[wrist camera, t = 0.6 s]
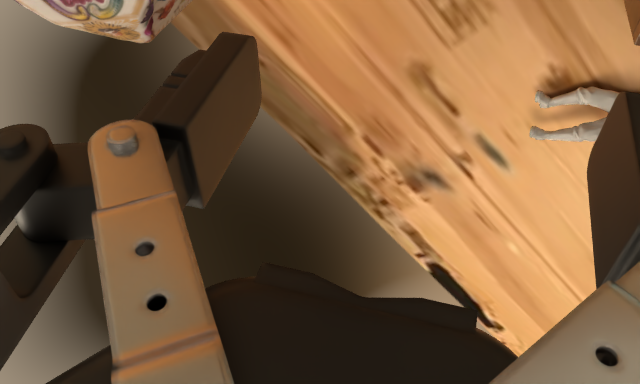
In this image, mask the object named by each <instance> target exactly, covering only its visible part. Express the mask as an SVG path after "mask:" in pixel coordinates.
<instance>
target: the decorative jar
mask: <svg viewBox="0 0 640 384" xmlns="http://www.w3.org/2000/svg"><path fill="white" fill-rule="evenodd" d="M15 1H16V2H17V3H19V4H20V5H22V6H23V7H25V8H27V9H29V10H31V11H32V12H34V13H36V14H38V15H39V16H41V17H43V18H45V19H46V20H48V21H50V22H51V23H54V24H56V25H60V26H62V27H68V28H72V29H76V30H82V31H86V32H90V33H93V34H98V35H103V36H108V37H112V38H115V39H120V40H129V41H134V42H137V43H147V42H150V41H152V40H153V39H154V38H155V37H156V35H157V34H158V33H159V32H160V31H161V30H162V29H164V27H165V26H166V25H167V24H169V23H170V22H171V21H172V20H173V19H174V18H175V17H176V16H177V15H178V14H179V13H180V12H181V11H182V10H183V8H185V7H186V6H187V5H188V4H189V3H190V2H191V1H192V0H15Z"/></svg>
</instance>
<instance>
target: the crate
mask: <svg viewBox="0 0 640 384" xmlns="http://www.w3.org/2000/svg"><path fill="white" fill-rule="evenodd" d="M624 3H625V7H626V11H627V16H628V20H629V24H630V28H631V32H632V36H633V40H634V45H639V46H640V0H624Z"/></svg>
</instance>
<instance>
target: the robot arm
mask: <svg viewBox="0 0 640 384" xmlns="http://www.w3.org/2000/svg"><path fill="white" fill-rule="evenodd" d="M260 104H261V81H260V71H259V60H258V50H257V43H256V39H255V38H254V37H253V36H248V35H242V34H235V33H228V32H222V33H220V34H219V36H218V37H217V38H216V39H215V41H214V42H213V43H212V45H211V46H210V47H209V48H208V50H207V51H205V50H198V51H196V52H195V53H193V54H191V55H190V56H188V57H186V58H184V59H183V60H182V61H181V62H180V63H179V64H178V66H177V67H176V68H175V69H174V71H173V72H172V73H171V76H168V78H167V79H166V80H165V81H164V83H163V86H160V88H159V89H158V90H157V91H156V92H155V94H154V95H153V96H152V97H151V99H150V100H149V101H148V102H147V103H146V105H145V106H144V107H143V108H142V110H141V111H140V112H139V113H138V114H137V116H136V117H135V118H134V119H133V120H122V121H117V122H114V123H111V124H108V125H106V126H104V127H102V128H101V129H99V130H98V131H97V132H95V133H94V134H93V136H92V137H91V138H90V140H89V142H87V143H68V144H52V142H51V139H50V137H49V135H48V133H47V131H46V130H45V129H43V128H42V127H40V126H37V125H32V124H17V125H12V126H8V127H5V128H2V129H0V235H1V234H2V233H3V231H4V230H5V229H6V228H7V226H8V225H9V224H10V223H11V221H12V220H13V219H15V221H16V223H17V226H16V227H15V228H14V229H13V231H12V232H11V233H10V235H9V236H8V237H7V238H6V240H5V241H4V242H3V244H2V245H1V246H0V370H1V369H2V367H3V366H4V364H5V363H6V361H7V360H8V358H9V356H10V355H11V354H12V352H13V351H14V349H15V347H16V346H17V344H18V343H19V341H20V340H21V338H22V337H23V335H24V334H25V332H26V331H27V329H28V327H29V326H30V324H31V323H32V321H33V320H34V318H35V317H36V315H37V314H38V312H39V311H40V309H41V307H42V306H43V305H44V303H45V301H46V300H47V298H48V297H49V295H50V294H51V292H52V291H53V289H54V288H55V286H56V285H57V283H58V282H59V280H60V278H61V277H62V275H63V274H64V272H65V271H66V269H67V268H68V266H69V264H70V263H71V262H72V260H73V259H74V257H75V255H76V254H77V252H78V251H79V249H80V248H81V246H82V245H83V243H84V242H85V240H86V239H95V243H96V250H97V256H98V264H99V270H100V277H101V284H102V290H103V298H104V304H105V310H106V318H107V325H108V331H109V338H110V345H109V346H107V347H106V348H104V349H102V350H101V351H99V352H97V353H96V354H94V355H92V356H91V357H89V358H87V359H86V360H84V361H82V362H81V363H79V364H78V365H76V366H74V367H72V368H71V369H69V370H67V371H66V372H64V373H62V374H61V375H59V376H57V377H56V378H54V379H53V380H51V381H49V382H47V383H46V384H640V94H638V93H631V92H624V91H622V92H620V93H619V94H618V96H617V97H616V99H615V101H614V103H613V105H612V107H611V109H610V112H609V114H608V116H607V118H606V120H605V122H604V124H603V127H602V129H601V131H600V133H599V135H598V137H597V139H596V142H595V144H594V146H593V148H592V151H591V154H590V157H589V162H588V168H587V181H588V193H589V205H590V217H591V229H592V241H593V253H594V265H595V277H596V289H597V290H595V291H594V292H593V293H592V294H591V295H590V296H589V297H587V298H586V299H585V300H584V301H583V302H582V303H581V304H579V305H578V306H577V307H576V308H575V309H574V310H572V311H571V312H570V313H569V314H568V315H567V316H566V317H564V318H563V319H562V320H561V321H560V322H559V323H558V324H556V325H555V326H554V327H553V328H552V329H551V330H550V331H548V332H547V333H546V334H545V335H544V336H543V337H541V338H540V339H539V340H538V341H537V342H536V343H535V344H533V345H532V346H531V347H530V348H529V349H528V350H527V351H525V352H524V353H523V354H522V355H521V356H520V357H517V356H516V355H515V354H514V353H513V352H512V351H511V350H510V349H509V348H508V347H506V346H505V345H504V344H502V343H501V342H500V341H498V340H497V339H496V338H494V337H492V336H491V335H489V334H487V333H486V332H484V331H482V330H480V329H478V328H476V322H477V312H478V311H477V310H472V309H468V308H464V307H459V306H455V305H450V304H446V303H441V302H437V301H433V300H428V299H424V298H366V297H361V296H358V295H356V294H354V293H352V292H350V291H348V290H346V289H344V288H342V287H340V286H338V285H336V284H333V283H331V282H329V281H327V280H325V279H323V278H321V277H319V276H317V275H315V274H313V273H309V272H305V271H301V270H296V269H292V268H287V267H283V266H279V265H274V264H270V263H265V262H262V264H261V266H260V269H259V271H258V273H257V276H256V277H245V278H237V279H232V280H228V281H224V282H221V283H218V284H215V285H212V286H210V287H208V288H205V287H204V284H203V281H202V277H201V274H200V271H199V267H198V264H197V261H196V257H195V254H194V251H193V247H192V244H191V241H190V237H189V234H188V231H187V228H186V224H185V221H184V218H183V214H182V211H183V209H184V208H185V206H186V205H188V206H193V207H197V208H202V209H204V208H205V206H206V204H207V203H208V201H209V199H210V197H211V196H212V194H213V192H214V190H215V189H216V187H217V185H218V183H219V182H220V180H221V178H222V176H223V175H224V173H225V171H226V169H227V168H228V166H229V164H230V162H231V161H232V159H233V157H234V155H235V154H236V152H237V150H238V148H239V147H240V145H241V143H242V141H243V139H244V138H245V136H246V134H247V133H248V131H249V129H250V127H251V126H252V124H253V122H254V120H255V119H256V117H257V115H258V112H259V109H260Z"/></svg>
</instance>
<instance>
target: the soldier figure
mask: <svg viewBox="0 0 640 384" xmlns="http://www.w3.org/2000/svg"><path fill="white" fill-rule="evenodd" d="M618 94H619V93H618V92H615V91H612V90H603V89H599V88H596V87H593V86H592V87H589V88H586V89H585V88H583V87H579V88H578V89H577V90H575V91H573V92H570V93H567V94H563V95H559V96H556V97H554V98H550V97H548V96H546V95H545V94H544V93H543V92H542V91H537V92H536V95H535V102H538V103H540V104H539V105H540V108H549V107H554V106H558V105H575V104H580V105H582V104H585V105H587V104H590V105H591V106H593V107H598V108H600V109H602V110H605V111H607V112H608V113H609V112H610V109H611V107H612V105H613V103H614V101H615V99H616V97H617V96H618ZM606 118H607V117H606ZM606 118H603V119H600V120H597V121H594V122H588V123H582V124H580V125H579V126H578V127H577V126H574V127H572V128H566V129H561V130H557V131H544V130H543V129H540V128H538V127H536V126H532V127H531V130H530V137H531V138H532V137H533V138H535V139H536V140H545V139H548V140H562V141H579V142H582V141H583V140H586V141H596V139H597V137H598V135H599V133H600V131H601V129H602V127H603V124H604V122H605V120H606Z"/></svg>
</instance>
